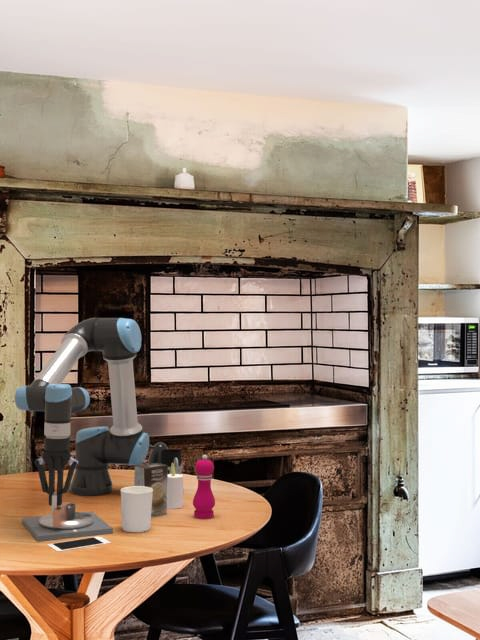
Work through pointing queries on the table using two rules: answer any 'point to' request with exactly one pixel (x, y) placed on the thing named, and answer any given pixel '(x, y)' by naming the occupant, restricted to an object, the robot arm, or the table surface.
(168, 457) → the picture frame
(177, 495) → the candle
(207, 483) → the pepper mill
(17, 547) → the table surface
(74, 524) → the dial
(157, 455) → the pump dispenser
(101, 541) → the cell phone
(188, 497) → the table surface
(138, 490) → the candle holder
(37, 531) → the dial plate
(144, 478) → the coffee box
